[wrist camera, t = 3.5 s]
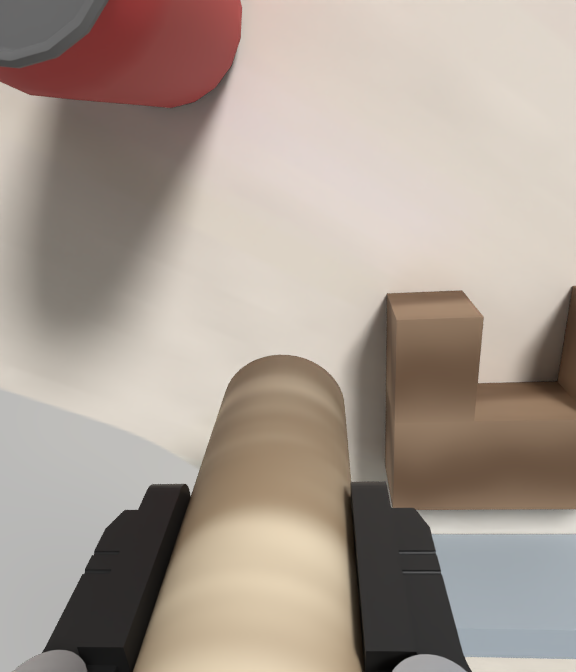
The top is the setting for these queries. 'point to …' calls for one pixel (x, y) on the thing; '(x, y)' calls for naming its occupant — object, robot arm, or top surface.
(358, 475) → the top surface
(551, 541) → the wall
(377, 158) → the top surface
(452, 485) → the block
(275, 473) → the dowel
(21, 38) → the beer can
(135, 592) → the robot arm
